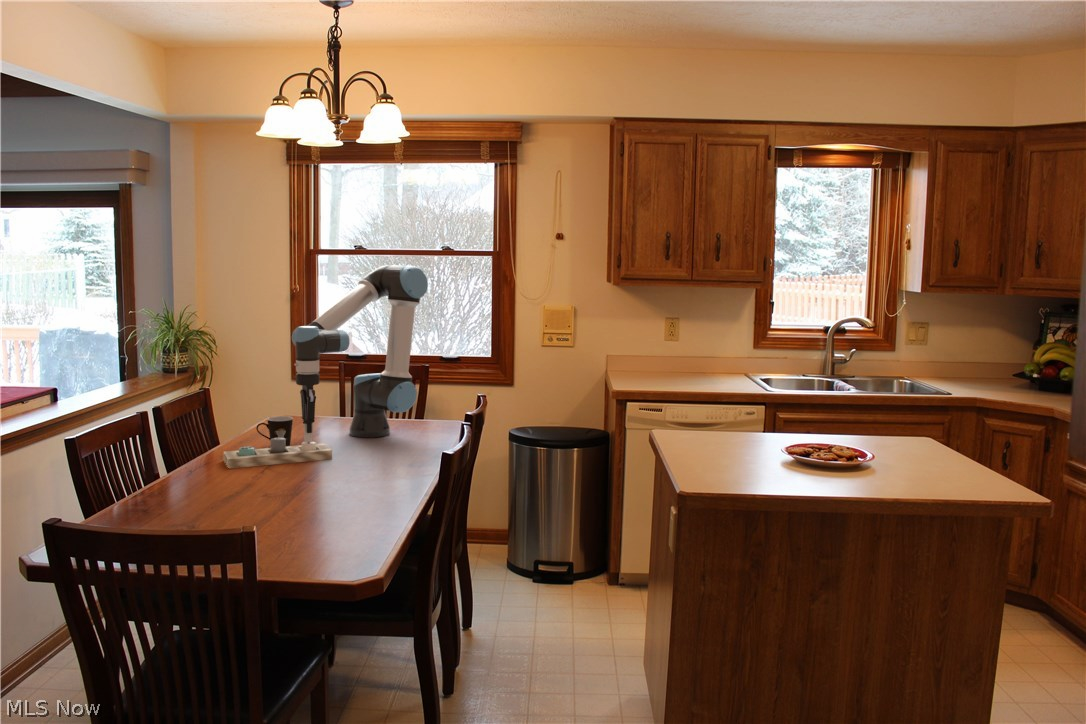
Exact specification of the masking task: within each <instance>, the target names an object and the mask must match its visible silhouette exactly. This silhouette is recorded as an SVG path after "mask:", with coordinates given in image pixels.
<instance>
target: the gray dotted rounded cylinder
mask: <svg viewBox="0 0 1086 724" xmlns="http://www.w3.org/2000/svg"><path fill="white" fill-rule="evenodd" d="M269 442H270V444H269V445H270V448H271V454H274V453H285V452H286V439H285V438H272V439H270V440H269Z"/></svg>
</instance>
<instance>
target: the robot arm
mask: <svg viewBox="0 0 1086 724" xmlns="http://www.w3.org/2000/svg"><path fill="white" fill-rule="evenodd" d="M428 287H429V283H428V278H427V275H426V273H424V271H423V270H422V268H420V267H419V266H416V265H415V266H414V265H410V264H409V265H408V264H406V265H405V264H402V265H401V264H395V265H394V264H386V265H382V266H379V267H377V268H375V269H374V270H373V271H371V272H369V273H368V274H366V275H365V276H364V277H363V278H361V279H360V280H359V281H358V283H357V286H356V287H354V288H353V289H352V290H351V291H349V292H348V293H347V294H346V295H344V296H342V298H340V299H339V300H338V301H337V302H336V303H334V304H333V305H332V306H330V307H329V308H328V309H327V310H326V311H324V312H323V313H322V314H320V315H319V316H318V317H316V319H314V320H313V321H312V322H310V323H309V324H307V325H303V326H302V325H301V326H297V327H296V328H295V329H294V330H293V331H292V335H291V341H292V344H293V345H294V346H295V363H294V364H293V365H294V366H295V372H297V373H296V374H295V383H296V385H298V386H301V387H302V388H301V389H300V391H299V393H300V403H301V404H300V405H301V419H302V424H303V442H305V443H307V442H314V423H315V417H316V416H315V415H316V413H315V412H316V400H317V396H316V390H315V389H314V386H316V385H319V384H320V355H321V354H330V353H331V354H332V353H341V352H346V351H347V350H348V349H349V347H350V342H351V341H350V336H349V334H348V332H347V331H345V330H343V329H342V330H341V329H339V328H341V327H342V326H343V325H344V324H345V323H347V322H348V321H349V320H350V319H352V318H353V317H354V316H356V314H358V313H359V312H360V311H361V310H363V309H364V308H365V307H366V306H368V305H369V304H371V302H372V303H374V302H375V303H376V302H377V301H378V300H379V299H381V298H384V297H387V301H388V302H389V304H390V305H391V307H390V317H389V327H388V328H389V329H388V336H387V337H388V338H387V345H386V346H387V348H386V356H385V357H386V358H385V368H384V370H383V371H381V372H379V373H365V374H358V375H356V376H355V377H354V379H353V417H352V420H351V423H350V425H349V426H350V427H349V435H350V436H352V437H354V438H356V437H357V438H379V437H386V436H388V435H390V433H391V427H390V424H389V421H388V418H387V417H388V416H387V415H386V411H387V412H388V411H389V412H392V413H405V412H407V411H409V410H410V409H411V408H412V407H413V406H414V404H415V402H416V401H417V398H418V391H417V388H416V385H415V384H414V383H413V381H412V380H413V375H411V374H410V372H409V369H410V360H411V350H412V340H413V331H414V330H413V328H414V319H415V310H416V309H415V308H416V307H417V306H418V305H420V302H421V301H420V300H421V299H422V297H424V296H425V294H426V293H427V291H428ZM338 329H339V330H338Z"/></svg>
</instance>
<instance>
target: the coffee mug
mask: <svg viewBox="0 0 1086 724" xmlns="http://www.w3.org/2000/svg"><path fill="white" fill-rule="evenodd" d="M266 420H267V423H265V422H260V423H257V425H256V432H257V433H258V434H259V435H260V436H261V437H264V438H265V439H267V440H269V441H270V439H272V438H285V439H286V446H291V440H292V433H293V432H292V431H293V423H294V418H293V417H292V416H284V415H282V416H272V417H268V418H267V419H266ZM261 425H264V426H266V428H267V429H268V433H269V436H267V435H265V434H263V433H261V431H260V430H259V426H261Z"/></svg>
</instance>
